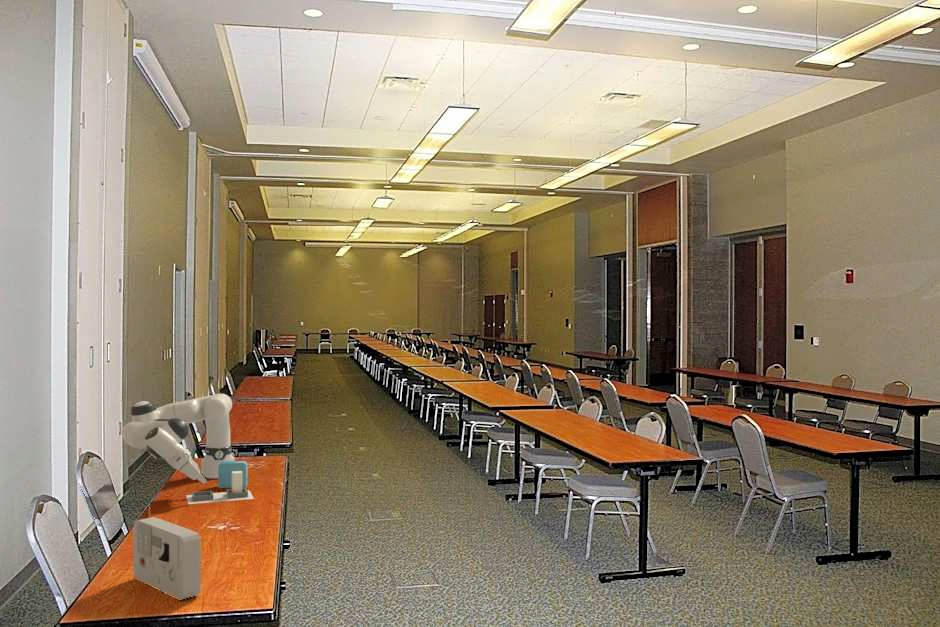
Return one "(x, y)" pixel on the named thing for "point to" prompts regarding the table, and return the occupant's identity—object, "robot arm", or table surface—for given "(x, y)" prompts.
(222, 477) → the data package
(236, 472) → the plug block
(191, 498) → the dock
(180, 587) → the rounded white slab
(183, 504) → the table surface
